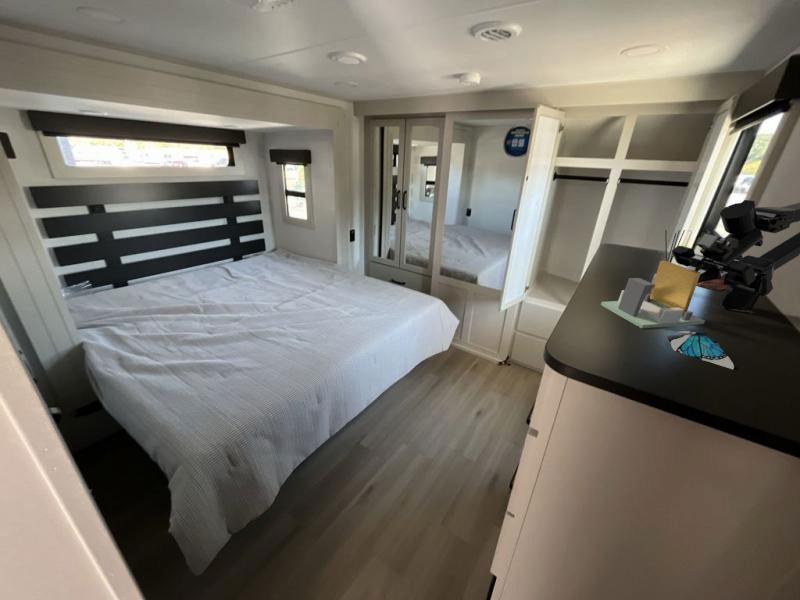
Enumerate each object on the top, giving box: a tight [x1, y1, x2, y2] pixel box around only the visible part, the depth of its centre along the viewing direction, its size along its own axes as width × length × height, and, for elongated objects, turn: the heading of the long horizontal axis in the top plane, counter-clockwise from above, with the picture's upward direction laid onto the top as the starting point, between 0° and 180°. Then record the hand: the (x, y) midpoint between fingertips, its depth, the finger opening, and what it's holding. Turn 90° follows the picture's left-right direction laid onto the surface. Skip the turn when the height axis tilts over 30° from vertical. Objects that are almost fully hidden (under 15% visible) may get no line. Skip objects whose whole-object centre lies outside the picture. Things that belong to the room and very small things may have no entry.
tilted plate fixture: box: [600, 277, 706, 329], centre depth 87 cm, size 20×14×10 cm
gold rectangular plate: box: [649, 260, 700, 316], centre depth 87 cm, size 1×10×13 cm, turn 11°
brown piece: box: [696, 276, 728, 291], centre depth 112 cm, size 12×12×7 cm
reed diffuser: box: [651, 229, 686, 284], centre depth 105 cm, size 10×7×20 cm
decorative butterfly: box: [667, 330, 735, 370], centre depth 72 cm, size 10×6×10 cm
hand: (683, 284), depth 87 cm, fingers closed
